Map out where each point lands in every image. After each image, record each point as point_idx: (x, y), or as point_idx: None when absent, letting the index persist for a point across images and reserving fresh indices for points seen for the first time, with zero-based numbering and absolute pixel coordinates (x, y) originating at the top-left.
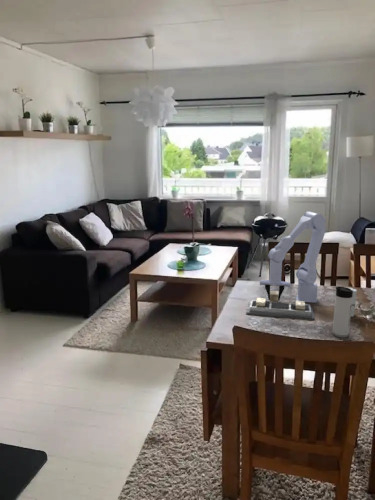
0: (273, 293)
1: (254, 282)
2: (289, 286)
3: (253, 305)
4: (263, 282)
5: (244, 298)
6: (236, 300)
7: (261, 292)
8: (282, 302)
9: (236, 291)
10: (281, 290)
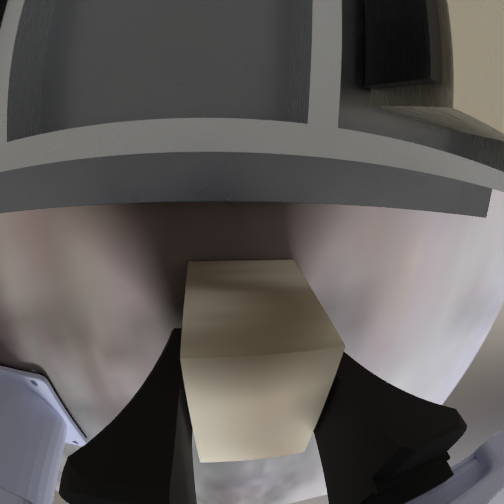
0: (275, 403)
1: (322, 493)
2: (2, 500)
3: (469, 137)
4: (497, 483)
5: (454, 331)
6: (500, 277)
7: (317, 449)
8: (96, 154)
9: (441, 402)
10: (118, 453)
